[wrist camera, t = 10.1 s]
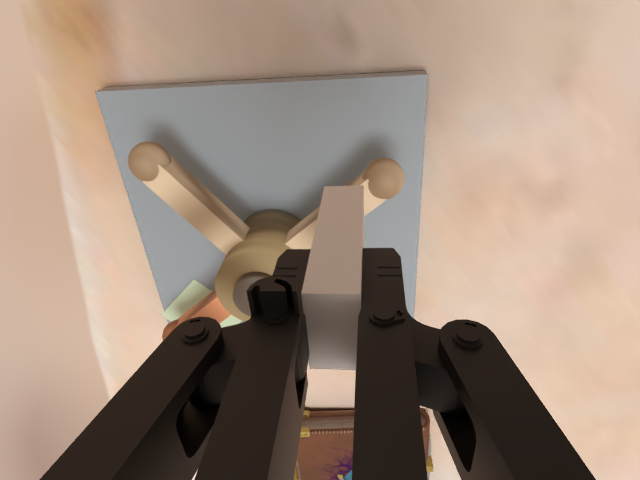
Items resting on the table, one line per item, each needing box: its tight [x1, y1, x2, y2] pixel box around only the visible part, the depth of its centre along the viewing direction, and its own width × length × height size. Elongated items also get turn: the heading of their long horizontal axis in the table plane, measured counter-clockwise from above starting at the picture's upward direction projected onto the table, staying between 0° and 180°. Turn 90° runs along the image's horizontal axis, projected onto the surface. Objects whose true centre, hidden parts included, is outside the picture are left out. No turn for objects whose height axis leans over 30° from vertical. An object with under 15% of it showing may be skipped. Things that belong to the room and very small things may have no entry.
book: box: [294, 408, 433, 480], centre depth 48 cm, size 16×25×5 cm, turn 6°
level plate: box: [95, 70, 428, 328], centre depth 34 cm, size 24×22×3 cm
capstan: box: [128, 142, 405, 341], centre depth 31 cm, size 24×24×7 cm
